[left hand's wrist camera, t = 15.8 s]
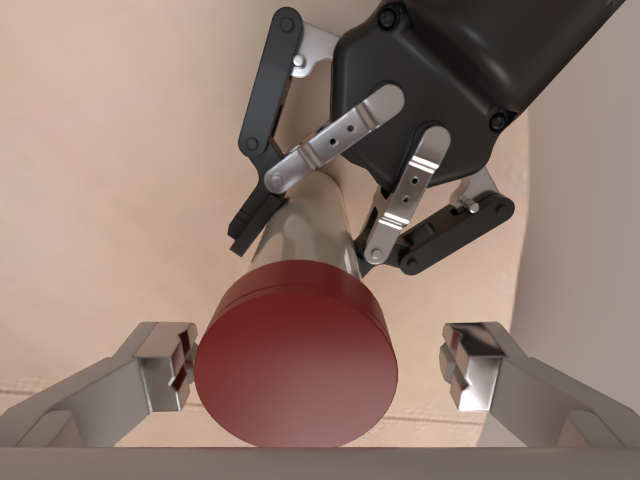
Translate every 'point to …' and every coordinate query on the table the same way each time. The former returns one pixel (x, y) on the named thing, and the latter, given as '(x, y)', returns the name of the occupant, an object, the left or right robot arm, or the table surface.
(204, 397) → the lid
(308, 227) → the beige cylindrical piece
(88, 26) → the table surface
